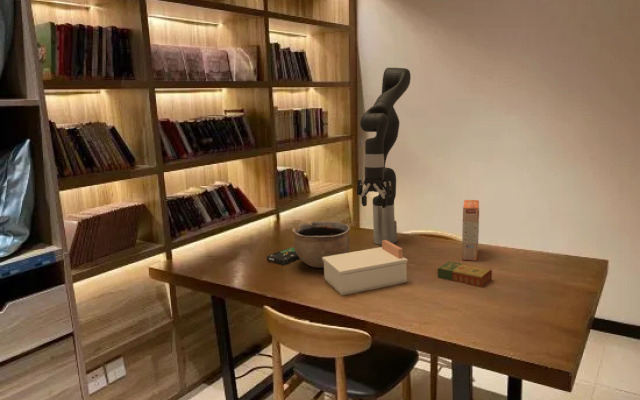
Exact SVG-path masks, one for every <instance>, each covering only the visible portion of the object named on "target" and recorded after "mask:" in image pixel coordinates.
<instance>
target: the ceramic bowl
mask: <svg viewBox="0 0 640 400" xmlns="http://www.w3.org/2000/svg"><path fill="white" fill-rule="evenodd" d="M350 231H351V226H350V225H348V224H347V223H342V222H340V221H332V220H329V221H327V220H316V221H315V220H313V221H311V223H309V222H304V223H300V224H298V229H297V228H295V227H293V228H292V233H293V235H294V239H293V247H294V248H295V252H296V253H297V255H298V257H299V258H300V260H301V261H302V262H303V263H304V264H305V265H307V266H309V267H311V268H318V269H319V268H323V269H324V261H323V260H322V257H326V256H332V255H338V254H344V253H349V252H348V251H349V250H350V237H349V232H350Z"/></svg>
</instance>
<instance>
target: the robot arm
mask: <svg viewBox="0 0 640 400" xmlns="http://www.w3.org/2000/svg"><path fill="white" fill-rule="evenodd" d="M381 82H382V84H381V94H380V95H379V96H378V97H377V98H376V101H375V102H374V103H373V106H371V107H370V108H368V109H367V110H366V111H365V112H364V113H363V114H362V116H361V117H360V121H359V123H360V128H361V130H362V131H364V132H366V133H376V134H375V136H374V137H370V138H367V139H366V140H365V142H364V143H365V145H364V147H365V148H364V165H363V166H364V179H357V187H356V195H358V196H360V197H361V205H362V207H367V206H368V205H367V204H368V196H367V195H368V194H369V193H370V192H375V193H378V195H376V196H374V197H373V198H372V216H373V217H372V219H373V220H372V221H373V223H372V224H373V242H374V244H376V245H378V246H379V245H380V246H382V241H383V240H387V241H389V242H391V243H393V244H396V243H397V242H398V235H397V234H398V230H397V228H398V226H397V220H396V219H395V218H396V217H395V199H396V197H397V175H396V172H395V171H394V170H395V169H393V168H390V167H386V162H387V157H388V155H389V152H390V151H391V149H392V148H393V146H394V145H395V143H396V141H397V139H398V137H399V129H400V119H399V116H398V113H397V112H396V109H395V107H394V106H395V104H396V103H397V101H398V100H399V99H400V98H401V97H402V96H403V95H404V94H405V92H406V91H407V90H408V89H409V87H410V84H411V72H410V70H409V69H408V68H405V67H387V68H385V69H384V71H383V74H382V81H381ZM364 186H365V187H364ZM363 187H364V188H363Z"/></svg>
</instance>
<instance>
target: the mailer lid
mask: <svg viewBox="0 0 640 400" xmlns="http://www.w3.org/2000/svg"><path fill="white" fill-rule="evenodd" d="M403 252H404V251H403V248H402V247H400V246H398V245H396V244H395V243H391V242H389V241H387V240H383V241H382V245H381V247H373V248H368V249H362V250H357V251H351V252H347V253H344V254H338V255H332V256H326V257H322V260H323V261H324V262H326V263H327V264H328V265H329V266H330V267H331V268H333V269H334V270H335V271H336V272H337V273H339V274H340V275H341V274H346V273H352V272H357V271H363V270H368V269H373V268H379V267H384V266H390V265H395V264H400V263H406V264H407V263H408V261H409V260H408V259H407V258H406V257H404V256H403V255H404V254H403Z"/></svg>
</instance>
